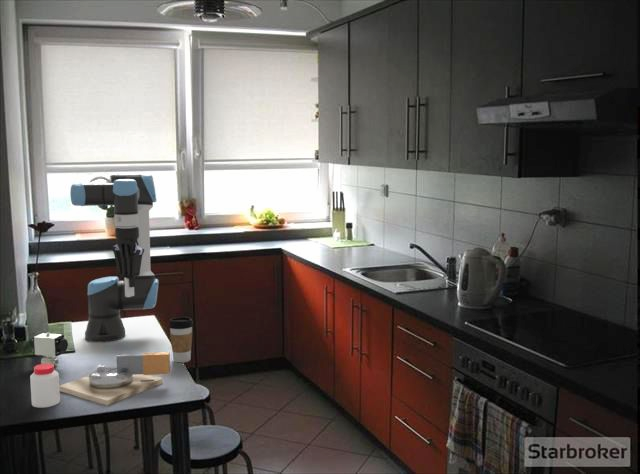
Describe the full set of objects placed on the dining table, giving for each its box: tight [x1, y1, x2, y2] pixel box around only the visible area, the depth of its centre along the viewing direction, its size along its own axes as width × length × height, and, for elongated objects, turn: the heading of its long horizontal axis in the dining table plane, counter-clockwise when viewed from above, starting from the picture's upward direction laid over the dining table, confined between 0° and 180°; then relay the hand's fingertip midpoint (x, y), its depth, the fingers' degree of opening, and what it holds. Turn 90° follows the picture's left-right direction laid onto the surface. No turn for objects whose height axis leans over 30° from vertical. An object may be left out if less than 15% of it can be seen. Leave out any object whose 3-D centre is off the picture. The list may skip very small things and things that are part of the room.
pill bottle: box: [29, 363, 61, 409], centre depth 193 cm, size 8×8×11 cm
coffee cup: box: [168, 316, 194, 363], centre depth 232 cm, size 8×8×15 cm
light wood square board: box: [59, 365, 164, 406], centre depth 207 cm, size 22×22×2 cm
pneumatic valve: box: [29, 331, 69, 367], centre depth 225 cm, size 6×12×12 cm, turn 78°
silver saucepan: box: [88, 352, 171, 389], centre depth 207 cm, size 24×13×8 cm, turn 96°
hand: (129, 296), depth 221 cm, fingers closed
